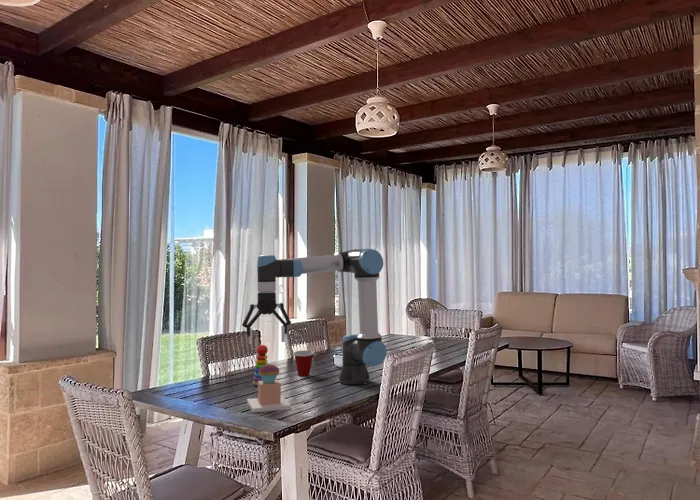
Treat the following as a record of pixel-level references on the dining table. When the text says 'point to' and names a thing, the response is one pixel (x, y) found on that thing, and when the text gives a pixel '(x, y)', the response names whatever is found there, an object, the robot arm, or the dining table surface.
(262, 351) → the stacking toy
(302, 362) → the plastic cup
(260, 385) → the tan cube
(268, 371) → the cupcake
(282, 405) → the base plate
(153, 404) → the dining table surface
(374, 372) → the dining table surface
